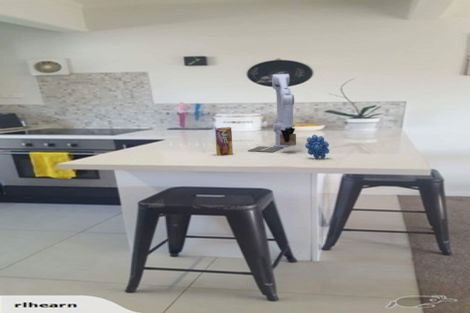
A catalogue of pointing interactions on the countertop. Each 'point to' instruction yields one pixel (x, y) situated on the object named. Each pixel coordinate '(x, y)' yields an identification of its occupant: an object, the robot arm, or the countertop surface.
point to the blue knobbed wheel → (317, 146)
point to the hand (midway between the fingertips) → (288, 141)
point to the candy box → (223, 141)
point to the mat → (265, 149)
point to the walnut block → (291, 140)
